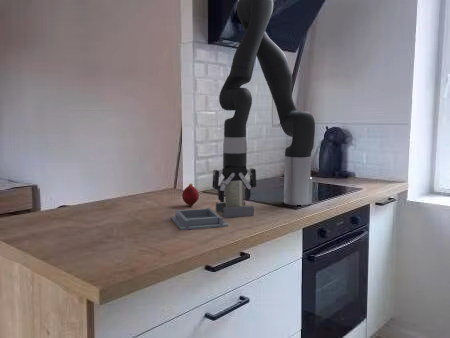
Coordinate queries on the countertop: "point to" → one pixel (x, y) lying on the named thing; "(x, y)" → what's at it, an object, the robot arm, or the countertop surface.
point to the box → (234, 194)
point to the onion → (190, 195)
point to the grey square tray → (197, 219)
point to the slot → (234, 210)
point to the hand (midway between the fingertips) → (234, 201)
